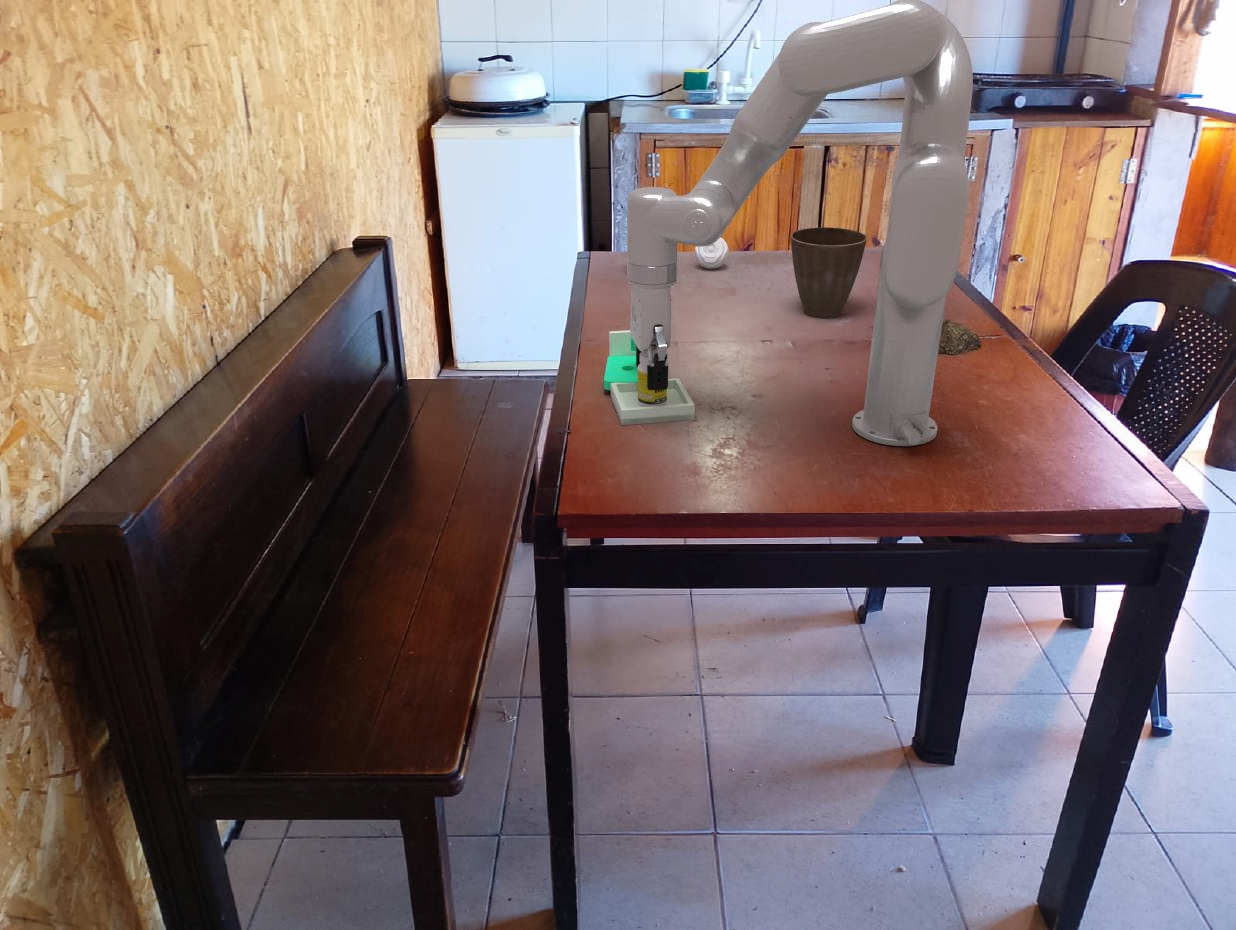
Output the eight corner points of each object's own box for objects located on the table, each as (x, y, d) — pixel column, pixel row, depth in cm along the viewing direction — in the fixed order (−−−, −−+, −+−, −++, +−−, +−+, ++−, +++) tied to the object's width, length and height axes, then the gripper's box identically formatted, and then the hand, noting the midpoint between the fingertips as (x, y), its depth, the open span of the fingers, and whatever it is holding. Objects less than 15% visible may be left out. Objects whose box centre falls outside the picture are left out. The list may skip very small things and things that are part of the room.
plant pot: (839, 329, 191) (846, 249, 183) (772, 315, 199) (777, 238, 191) (870, 310, 201) (879, 233, 194) (806, 298, 209) (812, 223, 202)
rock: (934, 330, 191) (938, 305, 188) (989, 347, 182) (993, 321, 179) (891, 343, 184) (894, 318, 182) (945, 362, 175) (949, 335, 173)
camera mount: (608, 369, 172) (607, 313, 167) (651, 369, 172) (651, 314, 167) (603, 395, 161) (602, 337, 157) (649, 396, 161) (649, 338, 156)
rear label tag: (643, 368, 173) (643, 331, 169) (610, 371, 172) (610, 333, 169) (642, 366, 174) (642, 329, 170) (609, 368, 173) (609, 331, 170)
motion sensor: (692, 271, 229) (693, 239, 225) (695, 263, 235) (696, 231, 232) (726, 273, 228) (728, 240, 224) (728, 264, 234) (730, 232, 231)
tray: (694, 419, 153) (694, 405, 151) (621, 425, 151) (621, 410, 150) (678, 392, 163) (679, 378, 162) (610, 396, 161) (610, 382, 160)
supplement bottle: (657, 410, 153) (657, 361, 149) (632, 404, 156) (631, 355, 152) (672, 399, 157) (672, 351, 153) (648, 394, 159) (647, 346, 155)
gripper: (618, 259, 154) (619, 360, 162) (638, 289, 139) (638, 400, 146) (664, 256, 155) (663, 357, 163) (689, 287, 140) (686, 396, 147)
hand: (651, 377), depth 154 cm, fingers open, 9 cm apart
